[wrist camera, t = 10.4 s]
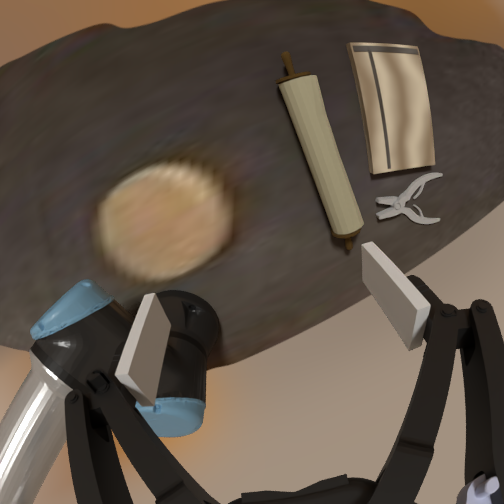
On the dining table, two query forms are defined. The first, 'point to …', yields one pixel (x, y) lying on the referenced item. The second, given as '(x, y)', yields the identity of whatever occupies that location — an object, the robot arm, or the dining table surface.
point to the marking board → (393, 106)
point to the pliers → (399, 202)
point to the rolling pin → (320, 151)
